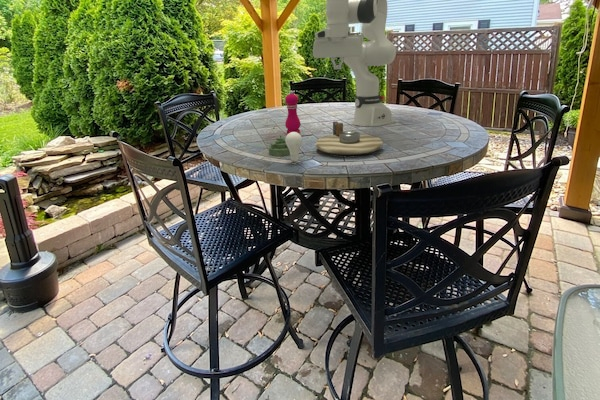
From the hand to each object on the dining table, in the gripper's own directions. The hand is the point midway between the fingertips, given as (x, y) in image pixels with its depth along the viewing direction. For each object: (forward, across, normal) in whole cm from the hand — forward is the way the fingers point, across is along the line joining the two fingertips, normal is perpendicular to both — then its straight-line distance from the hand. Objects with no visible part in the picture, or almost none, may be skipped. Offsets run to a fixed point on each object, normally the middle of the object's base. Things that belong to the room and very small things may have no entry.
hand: (337, 69), depth 153 cm
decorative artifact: (+30, +18, +25) cm, 43 cm away
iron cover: (+26, -8, +17) cm, 32 cm away
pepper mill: (+29, +23, -7) cm, 38 cm away
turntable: (+27, -8, +17) cm, 33 cm away
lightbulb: (+29, +9, +36) cm, 47 cm away
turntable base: (+29, -8, +17) cm, 35 cm away
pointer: (+29, +1, +3) cm, 29 cm away
